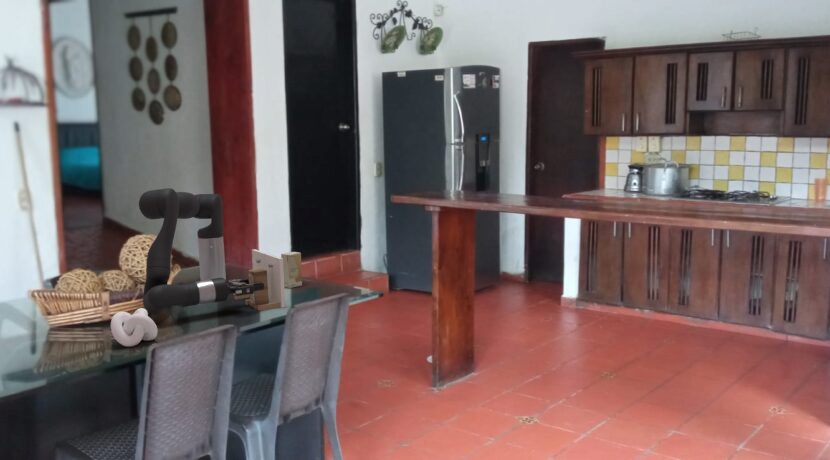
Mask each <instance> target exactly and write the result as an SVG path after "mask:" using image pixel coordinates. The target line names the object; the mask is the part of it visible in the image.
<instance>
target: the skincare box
mask: <svg viewBox="0 0 830 460" xmlns="http://www.w3.org/2000/svg"><path fill="white" fill-rule="evenodd" d="M280 256H281V257H280V258H283V271H284V288H288V289H292V288H296V287H301V286H303V275H302V274H303V271H302V253H301V252H298V251H291V252H285V253H281V255H280Z"/></svg>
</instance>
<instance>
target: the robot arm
mask: <svg viewBox="0 0 830 460" xmlns="http://www.w3.org/2000/svg"><path fill="white" fill-rule="evenodd" d="M223 204H224V203H223V198H222V197H221V195H220V194H219V193H198V194H193V193H190V192H187V191H176V190H175V189H174V188H169V187H167V188H160V189H152V190H147V191H145V192H143V193H142V195H141V196H140V197H139V200H138V208H139V211H140V213H141V214H142V215H143V216H144V217H145V218H146V219H148V220H160V219H161V220H162V219H163V221H162V222H163V223H162V226H161V228H160V231H159V232H158V234H157V236H156V237H155V239H154V240H153V242H152V244H151V245H150V247H149V248H148V252H147V256H146V269H145V270H146V273H145V274H146V275H145V277H146V278H145V284H144V288H143V296H142V305H143V307H144V309H146V310H147V312H148V313H150V314H160V313H161V312H163V311H164V310H165V309H166V308H167V307H174V306H180V307H183V308H185V307H192V306H197V305H207V304H215V303H221V302H226V301H227V300H228V298H229V295H232V296H234V297H235V296H240V295H247V294H254V291H259V290H264V283H257V284H249V278H245V279H241V278H232V279H227V274H226V261H225V245H224V243H225V242H224V217H223V216H224V205H223ZM192 218H195V219H199V220H209V219H210V220H211V221H210V224H209V225H207V226H205V227H201V228H199V229H198V230H197V245H198V247H197V248H198V260H199V261H198V262H199V276H200V277H199V278H200V280H197V281H195V282H189V283H187V282H186V283H182V284H177V283H175V284H173V283H172V284H169V283H168V282H169V280H170V277H171V267H172V265H171V264H172V249H173V243H174V237H175V234H176V229H177V222H178V219H179V220H189V219H192ZM249 288H250V290H249Z"/></svg>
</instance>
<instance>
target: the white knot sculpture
mask: <svg viewBox="0 0 830 460" xmlns="http://www.w3.org/2000/svg"><path fill="white" fill-rule="evenodd" d="M148 315H149V312H148V311H147V310H146V309H145V307H144V308H143V307H141V308H138V309H135V312H133V313H132V314H131V313H129V312H126V311H119V312H117V313H115V314H114V315H112V317H111V321H110V331H111V335H112V336H113V337H114V339H115V340H116V341H117V342H118V344H120V345H121V346H123V347H126V348H131V347H135V346H137V345H138V344H139V343H140V342H141V341H142V340H143V341H146V342H148V341H149V342H150V341H153V340H155V338H157V336H158V332H159V331H158V326H157V325H156V322H155V321H154V320H153V319H152V318H151V317H150V316H148Z"/></svg>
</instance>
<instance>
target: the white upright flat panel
mask: <svg viewBox="0 0 830 460" xmlns="http://www.w3.org/2000/svg"><path fill="white" fill-rule="evenodd" d="M251 255H252V256H251V257H252V270H254V269H264V270H267V281H268V299H269V304H264V305H258V309H257V311H258V312H260V311H266V310H271V309H278V308H286V296H285V295H286V293H285V287H284V271H283V258H281V257H279V256H276V255H274V254H271V253H269V252H268V253H267V252H264V251H261V250H259V249H255V248H254V249H251ZM248 298H249V299H248ZM242 299H243V300H244V299H245V305H247V306H250V294H247V295H240V296H235V295H234V300H236V301H237V300H242Z"/></svg>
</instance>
